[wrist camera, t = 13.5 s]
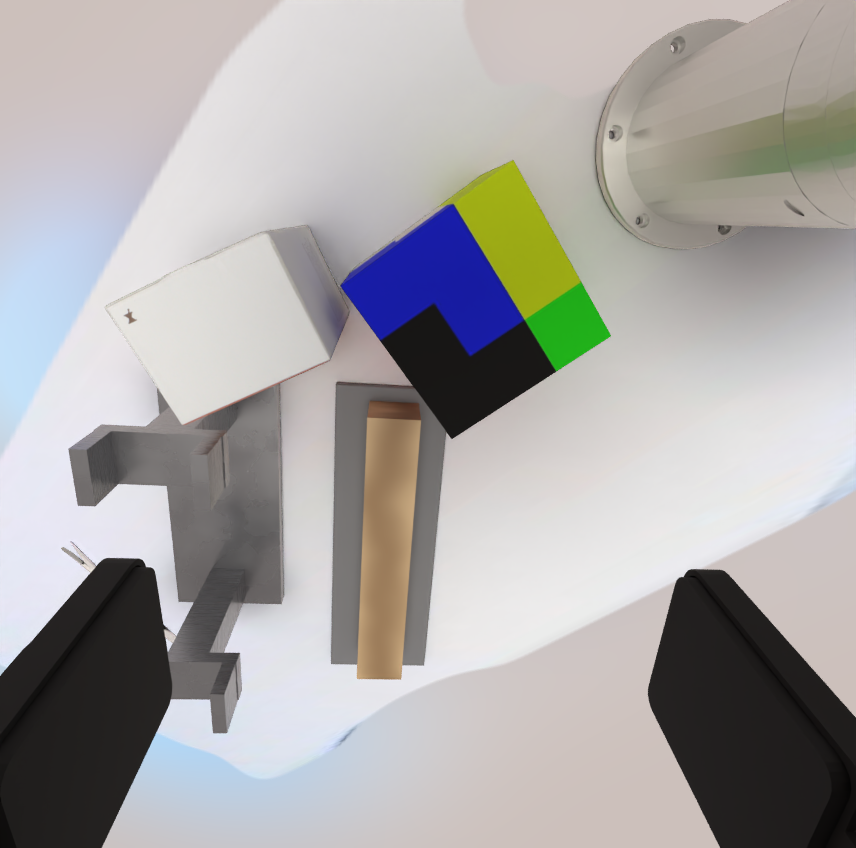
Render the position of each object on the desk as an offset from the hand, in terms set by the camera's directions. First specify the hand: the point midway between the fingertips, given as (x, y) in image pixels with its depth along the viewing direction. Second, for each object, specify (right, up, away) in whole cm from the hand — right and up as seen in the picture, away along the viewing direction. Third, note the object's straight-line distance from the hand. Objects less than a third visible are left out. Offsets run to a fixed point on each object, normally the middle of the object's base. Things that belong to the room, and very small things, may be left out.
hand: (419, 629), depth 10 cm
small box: (-10, +12, +27) cm, 31 cm away
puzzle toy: (+2, +13, +27) cm, 30 cm away
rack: (-15, -1, +31) cm, 35 cm away
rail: (-3, -5, +33) cm, 33 cm away
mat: (-3, -5, +34) cm, 34 cm away
